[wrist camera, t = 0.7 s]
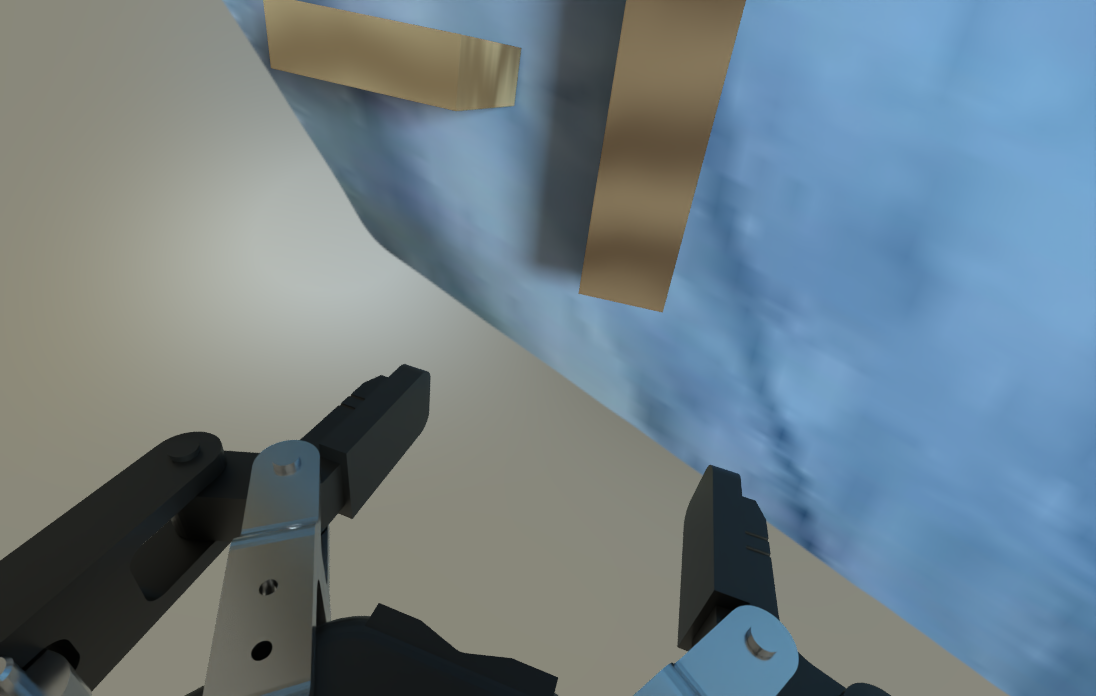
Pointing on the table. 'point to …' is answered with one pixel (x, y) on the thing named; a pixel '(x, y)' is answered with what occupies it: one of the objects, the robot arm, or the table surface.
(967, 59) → the table surface
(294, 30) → the fulcrum
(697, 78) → the batten
